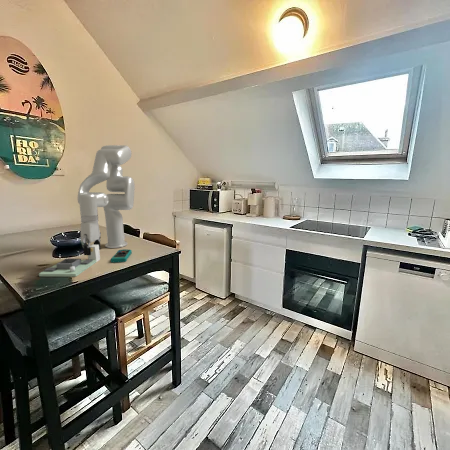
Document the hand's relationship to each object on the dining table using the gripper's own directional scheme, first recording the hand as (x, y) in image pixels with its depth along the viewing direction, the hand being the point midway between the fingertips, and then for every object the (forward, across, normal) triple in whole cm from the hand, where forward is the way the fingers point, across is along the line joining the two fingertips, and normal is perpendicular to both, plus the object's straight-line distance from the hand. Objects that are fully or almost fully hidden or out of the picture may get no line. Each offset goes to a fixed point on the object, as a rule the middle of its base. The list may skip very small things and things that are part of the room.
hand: (92, 252), depth 129 cm
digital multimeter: (+5, -6, +12) cm, 15 cm away
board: (+5, +10, -6) cm, 13 cm away
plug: (+5, -1, 0) cm, 5 cm away
